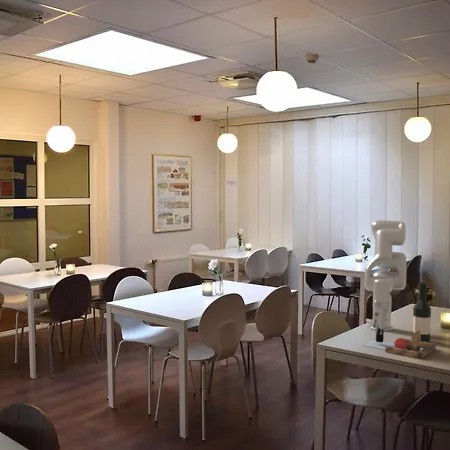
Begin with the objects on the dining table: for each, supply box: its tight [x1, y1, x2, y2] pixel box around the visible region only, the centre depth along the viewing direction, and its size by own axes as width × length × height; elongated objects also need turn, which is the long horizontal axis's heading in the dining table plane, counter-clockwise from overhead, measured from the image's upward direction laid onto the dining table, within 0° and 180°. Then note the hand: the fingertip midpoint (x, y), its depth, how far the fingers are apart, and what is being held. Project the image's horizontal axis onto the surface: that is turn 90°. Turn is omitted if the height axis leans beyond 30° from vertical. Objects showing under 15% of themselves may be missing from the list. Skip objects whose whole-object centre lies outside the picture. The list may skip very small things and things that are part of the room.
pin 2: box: [415, 331, 421, 351], centre depth 256 cm, size 2×2×9 cm
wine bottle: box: [412, 280, 432, 343], centre depth 273 cm, size 8×8×30 cm
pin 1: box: [410, 332, 417, 352], centre depth 252 cm, size 2×2×9 cm
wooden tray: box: [384, 337, 437, 360], centre depth 255 cm, size 16×21×3 cm
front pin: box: [407, 341, 427, 350], centre depth 254 cm, size 2×2×9 cm
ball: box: [393, 337, 408, 350], centre depth 254 cm, size 6×6×6 cm
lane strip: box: [362, 339, 423, 352], centre depth 260 cm, size 28×14×1 cm, turn 52°
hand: (379, 341), depth 265 cm, fingers closed
